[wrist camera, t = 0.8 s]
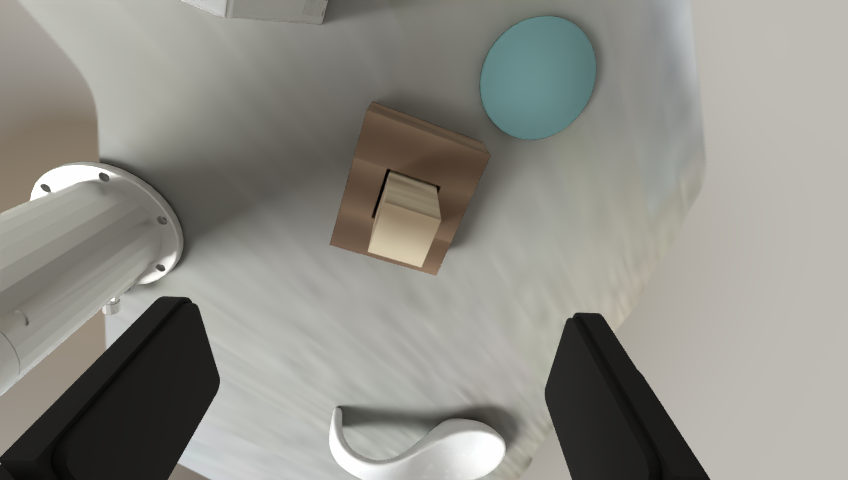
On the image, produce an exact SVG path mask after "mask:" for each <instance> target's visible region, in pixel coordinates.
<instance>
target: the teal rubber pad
mask: <svg viewBox="0 0 848 480" xmlns="http://www.w3.org/2000/svg"><path fill="white" fill-rule="evenodd" d="M595 78H596V60H595V54H594V51H593V47H592V45H591V43H590V41H589V39H588V38H587V36H586V35H585V34H584V32H583V31H582V30H581V29H580V28H579V27H577V26H576V25H575V24H573V23H572V22H570V21H568V20H565V19H563V18H559V17H554V16H541V17H534V18H530V19H526V20H524V21H521V22H519V23H517V24H515V25H514V26H512V27H510V28H509V29H508V30H507V31H505V32H504V33H503V34H502V35H501V36H500V37H499V38H498V39H497V40H496V42H495V43H494V44H493V45H492V47H491V49H490V50H489V52H488V54H487V56H486V58H485V61H484V64H483V67H482V71H481V75H480V95H481V100H482V103H483V106H484V109H485V111H486V113H487V114H488V116H489V118H490V119H491V120H492V121H493V122H494V124H495V125H496V126H497V127H498V128H500V129H501V130H502V131H504V132H505V133H507V134H509V135H511V136H513V137H516V138H520V139H529V140H534V139H541V138H545V137H548V136H551V135H554V134H556V133H558V132H559V131H561V130H563V129H564V128H566V127H567V126H568V125H569V124H571V123H572V122H573V121H574V120H575V119H576V118H577V117H578V116H579V114H580V113H581V112H582V110H583V109H584V107H585V106H586V104H587V102H588V100H589V98H590V96H591V93H592V91H593V88H594V83H595Z"/></svg>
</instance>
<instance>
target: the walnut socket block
mask: <svg viewBox="0 0 848 480" xmlns="http://www.w3.org/2000/svg"><path fill="white" fill-rule="evenodd" d="M489 157H490V154H489V152H488V151H487V149H486V147H485V146H484V144H483V143H482V142H480V141H477V140H474V139H472V138H469V137H466V136H464V135H461V134H458V133H455V132H453V131H450V130H447V129H445V128H442V127H439V126H436V125H434V124H431V123H428V122H426V121H423V120H420V119H417V118H415V117H412V116H409V115H407V114H404V113H401V112H398V111H396V110H393V109H390V108H388V107H385V106H382V105H379V104H377V103H374V102H372V103H371V105H370V106H369V108H368V109H367V111H366V115H365V118H364V122H363V126H362V129H361V133H360V137H359V140H358V144H357V147H356V151H355V155H354V158H353V162H352V166H351V169H350V173H349V177H348V180H347V184H346V187H345V191H344V195H343V198H342V202H341V206H340V209H339V213H338V216H337V220H336V224H335V227H334V231H333V235H332V238H331V242H330V245H332V246H336V247H339V248H342V249H346V250H349V251H353V252H356V253H360V254H363V255H367V256H370V257H374V258H377V259H380V260H384V261H387V262H391V263H394V264H398V265H401V266H405V267H408V268H412V269H415V270H418V271H422V272H425V273H429V274H432V275H437V273H438V270H439V268H440V266H441V264H442V262H443V259H444V257H445V255H446V253H447V250H448V248H449V246H450V244H451V242H452V239H453V237H454V235H455V233H456V230H457V228H458V226H459V224H460V222H461V219H462V217H463V215H464V213H465V211H466V208H467V206H468V204H469V202H470V199H471V197H472V195H473V193H474V191H475V188H476V186H477V184H478V182H479V180H480V177H481V175H482V173H483V171H484V168H485V166H486V164H487V162H488V160H489ZM387 168H388V169H391V170H394V171H397V172H400V173H403V174H405V175H408V176H411V177H414V178H417V179H420V180H423V181H426V182H429V183H432V184H435V185H436V188H437V195H438V202H439V209H440V215H441V222H440V224H439V227H438V229H437V232H436V234H435V236H434V239H433V241H432V243H431V246H430V248H429V250H428V253H427V255H426V258H425V260H424V262H423V265H422V267H418V266H414V265H411V264H408V263H404V262H401V261H397V260H394V259H390V258H387V257H383V256H380V255H377V254H373V253H370V252H368V248H369V244H370V239H371V235H372V230H373V225H374V221H375V216H376V211H377V207H378V202H379V201H378V200H377V198H378V195H379V192H380V189H381V186H382V183H383V179H384V176H385V173H386V170H387Z"/></svg>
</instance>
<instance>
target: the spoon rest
mask: <svg viewBox="0 0 848 480" xmlns="http://www.w3.org/2000/svg"><path fill="white" fill-rule="evenodd" d="M329 442H330V448H331V452H332V454H333V456H334V458H335V460H336V461H337V462H338V463H339V465H340V466H341V467H343V468H344V469H345V470H346V471H348V472H349V473H351V474H353V475H355V476H357V477H359V478H361V479H363V480H474V479H477V478H480V477H482V476H485V475H486V474H488V473H490V472H491V471H493V470H494V469H495V468H496V467H497V466H498V465H499V464H500V462H501V461H502V459H503V458H504V455H505V453H506V444H505V441H504V439H503V438H502V437H501V436H500V435H499V434H498V433H497V432H496V431H495V430H494V429H492V428H491V427H490V426H488V425H486V424H484V423H482V422H479V421H474V420H467V419H460V418H454V419H448V420H445V421H443V422H441V423H440V424H439V425H438V426H436V427H435V428H433V429H432V430H431V431H430V432H429V433H427V434H426V435H425V436H424V437H423V438H422V439H421V440H419V441H418V442H417V443H416V444H415V445H414V446H412V447H411V448H410V449H408V450H407V451H405V452H404V453H402V454H400V455H399V456H396V457H394V458H391V459H388V460H372V459H369V458H366V457H363V456H362V455H360V454H358V453H356V452H355V451H354V450H352V449H351V448H350V446H349V445H348V444H347V442H346V440H345V438H344V436H343V430H342V410H341V409H340V408H338V407H336V408H335V409H334V412H333V416H332V421H331V427H330V436H329Z"/></svg>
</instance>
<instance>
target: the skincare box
mask: <svg viewBox="0 0 848 480" xmlns="http://www.w3.org/2000/svg"><path fill="white" fill-rule="evenodd" d="M181 1H183V2H185V3H188V4H190V5H192V6H195V7H197V8H199V9H202V10H204V11H206V12H209V13H211V14H214V15H216V16H219V17H222V18H239V19H254V20H269V21H283V22H297V23H310V24H318V25H321V24H322V22H323V18H324V14H325V11H326V7H327V3H328V0H181Z"/></svg>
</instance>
